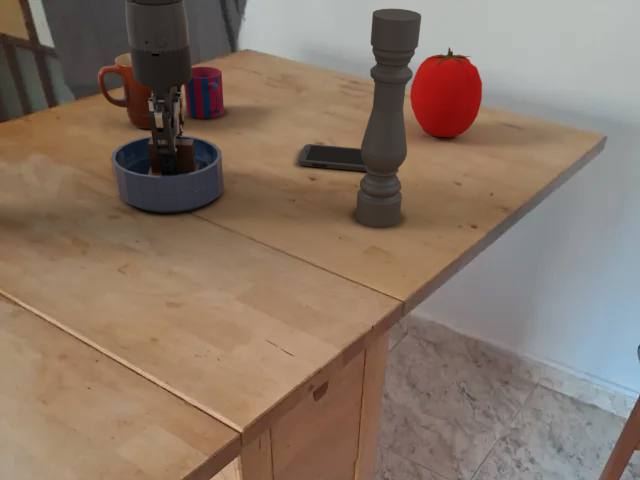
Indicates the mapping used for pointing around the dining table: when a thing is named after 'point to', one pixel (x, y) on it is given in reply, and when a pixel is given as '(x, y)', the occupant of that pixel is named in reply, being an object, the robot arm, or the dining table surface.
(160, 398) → the dining table surface
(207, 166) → the bowl
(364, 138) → the candle holder
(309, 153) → the cell phone
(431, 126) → the tomato
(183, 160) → the brown wooden stepped block
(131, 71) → the mug
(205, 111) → the cup
